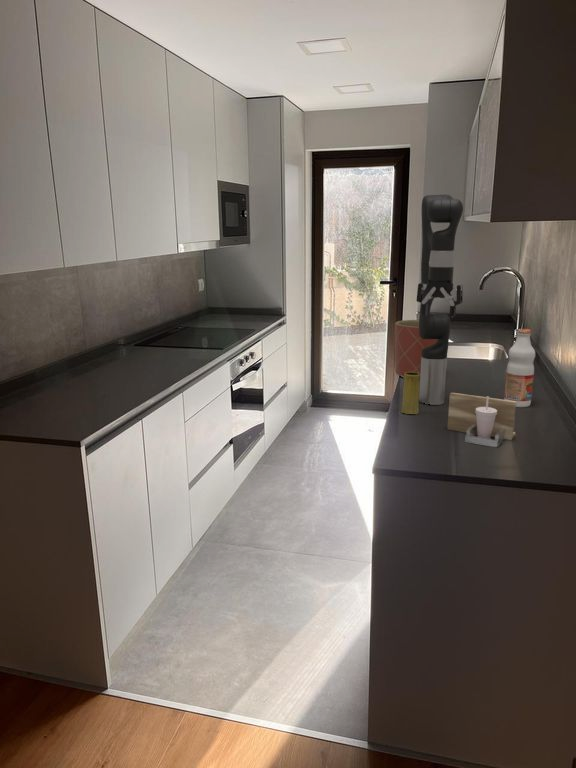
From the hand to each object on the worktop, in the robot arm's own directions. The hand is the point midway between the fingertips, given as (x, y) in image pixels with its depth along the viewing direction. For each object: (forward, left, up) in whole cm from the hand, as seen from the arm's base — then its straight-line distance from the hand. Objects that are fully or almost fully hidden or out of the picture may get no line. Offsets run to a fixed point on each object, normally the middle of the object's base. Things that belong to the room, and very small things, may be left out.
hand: (438, 316), depth 190 cm
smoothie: (+8, +19, -36) cm, 42 cm away
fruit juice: (-38, +20, -36) cm, 56 cm away
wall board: (+2, +17, -36) cm, 39 cm away
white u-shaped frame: (+9, +20, -36) cm, 42 cm away
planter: (-63, -27, -36) cm, 78 cm away
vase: (-7, -10, -36) cm, 38 cm away
